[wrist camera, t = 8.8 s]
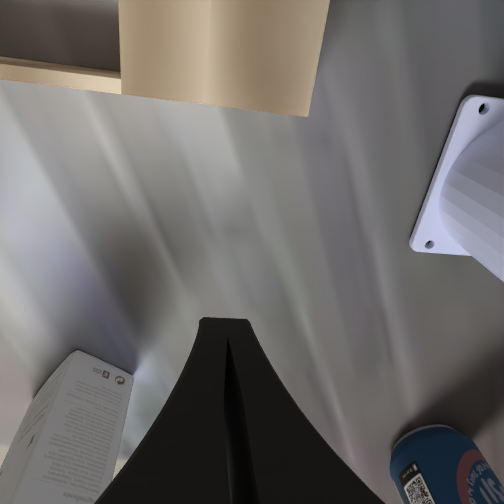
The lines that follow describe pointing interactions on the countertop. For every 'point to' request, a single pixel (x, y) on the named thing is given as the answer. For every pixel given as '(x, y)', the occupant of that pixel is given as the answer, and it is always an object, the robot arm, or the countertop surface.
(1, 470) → the skincare box
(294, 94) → the trap board
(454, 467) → the soda can
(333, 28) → the countertop surface
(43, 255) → the countertop surface
